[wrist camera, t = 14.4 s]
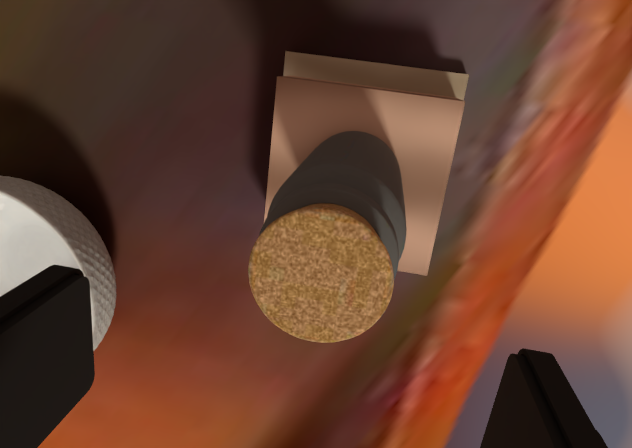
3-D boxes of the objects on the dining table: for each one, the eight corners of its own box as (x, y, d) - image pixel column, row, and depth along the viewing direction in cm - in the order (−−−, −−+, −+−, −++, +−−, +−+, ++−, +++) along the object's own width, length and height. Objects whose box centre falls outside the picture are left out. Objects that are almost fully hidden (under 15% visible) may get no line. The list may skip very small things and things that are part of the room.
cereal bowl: (107, 145, 36) (44, 162, 30) (167, 333, 41) (124, 385, 34) (-70, 179, 40) (-163, 201, 33) (4, 349, 44) (-65, 399, 38)
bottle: (331, 112, 28) (273, 157, 14) (419, 157, 28) (448, 246, 14) (291, 196, 30) (204, 309, 16) (372, 238, 30) (358, 387, 16)
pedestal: (288, 51, 32) (271, 48, 27) (466, 74, 31) (480, 75, 26) (270, 240, 37) (252, 266, 32) (424, 267, 35) (430, 297, 31)
